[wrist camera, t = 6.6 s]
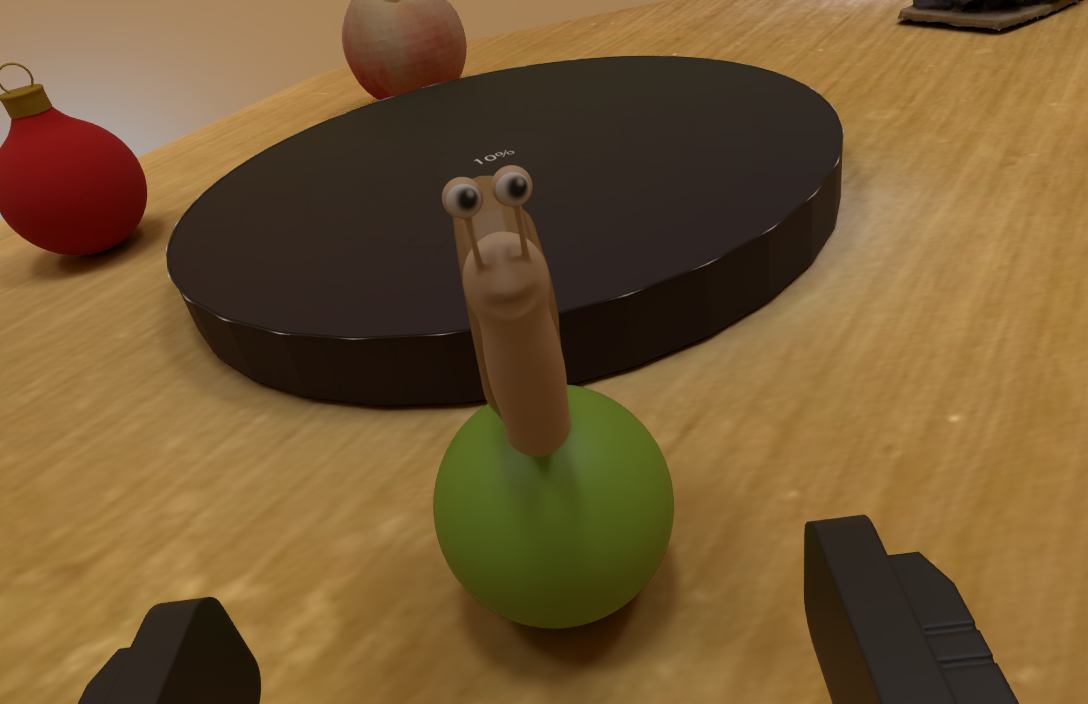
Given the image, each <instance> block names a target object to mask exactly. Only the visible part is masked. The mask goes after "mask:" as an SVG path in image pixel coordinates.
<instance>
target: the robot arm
mask: <svg viewBox="0 0 1088 704" xmlns="http://www.w3.org/2000/svg"><path fill="white" fill-rule="evenodd" d="M804 604H805V611H806V617H807V623H808V627H809V632H810V636H811V639H812V643H813V646H814V649H815V652H816V655H817V658H818V661H819V664H820V667H821V670H822V673H823V676H824V679H825V682H826V685H827V688H828V691H829V694H830V697H831V700H832V703H833V704H1019V703H1018V701H1017V699H1016V697H1015V695H1014V693H1013V692H1012V690H1011V688H1010V686H1009V684H1008V682H1007V680H1006V679H1005V677H1004V675H1003V673H1002V671H1001V669H1000V668H999V666H998V664H997V663H996V664H995V662H994V660H993V655H992V653H991V651H990V649H989V647H988V645H987V643H986V642H985V640H984V638H983V636H982V634H981V632H980V630H977V629H976V626H975V621H974V619H973V618H972V616H971V614H970V612H969V610H968V608H967V606H966V605H965V603H964V601H963V599H962V597H961V595H960V593H959V592H958V590H957V588H956V586H955V584H954V583H953V582H952V581H951V580H950V579H949V578H948V577H946V576H945V575H944V574H943V573H942V572H941V571H940V570H939V569H937V568H936V567H935V566H934V565H933V564H932V563H931V562H930V561H928V560H927V559H926V558H925V557H924V556H923V555H922V554H921V553H919V552H912V553H904V554H896V555H887V553H886V551H885V548H884V546H883V544H882V542H881V540H880V538H879V536H878V534H877V531H876V529H875V527H874V525H873V523H872V522H871V520H870V519H869V518H868V517H867V516H866V515H857V516H849V517H842V518H834V519H826V520H818V521H811V522H807V523H806V524H805V532H804ZM260 695H261V677H260V671H259V667H258V664H257V661H256V660H255V658H254V656H253V654H252V653H251V651H250V650H249V648H248V646H247V645H246V643H245V642H244V640H243V638H242V637H241V635H240V633H239V632H238V630H237V629H236V627H235V625H234V624H233V622H232V621H231V619H230V617H229V616H228V614H227V613H226V611H225V609H224V608H223V606H222V605H221V603H220V602H219V601H218V600H217V599H215V598H213V597H205V598H198V599H190V600H182V601H175V602H167V603H160V604H157V605H155V606H153V607H152V608H151V609H150V610H149V612H148V613H147V614H146V616H145V618H144V620H143V622H142V624H141V626H140V628H139V630H138V632H137V635H136V637H135V639H134V641H133V643H132V645H131V647H130V648H122V649H118V650H117V652H116V653H115V654H114V655H113V656H112V657H111V658H110V660H109V661H108V662H107V663H106V664H105V665H104V666H103V668H102V669H101V670H100V671H99V672H98V673H97V674H96V676H95V677H94V678H93V679H92V680H91V681H90V682H89V684H88V685H87V686H86V688H85V690H84V692H83V694H82V696H81V698H80V700H79V702H78V704H259V702H260Z"/></svg>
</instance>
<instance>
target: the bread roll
mask: <svg viewBox="0 0 1088 704" xmlns="http://www.w3.org/2000/svg"><path fill="white" fill-rule="evenodd" d="M1073 2H1076V3H1078V2H1079V0H913V5H911V6H909V7H907V8H904V9H902V10H901V11H900V14H899V16H898V21H899V19H900V20H902V17H903V19H904V20H908V19H909V18H910V19H911V20H914V21H923V20H925V21H927V22H931V21H932V22H937V21H940V22H941V23H942V22H944V23H948V24H950V25H956V26H963V25H964V26H975V27H983V28H989V29H991V28H993V29H997V30H998V31H999V30H1001V29H1002V28H1003V27H1004V28H1006V27H1007V26H1008V27H1010V26H1009V25H1013V24H1014V25H1017V24H1018V23H1023V22H1026V21H1028V19H1031V20H1032V18H1034V17H1037V20H1038V15H1039V16H1042V15H1043V16H1045V15H1046V14H1048V13H1050V12H1051V11H1052V12H1053V11H1057V10H1059V9H1060V8H1063V7H1066V6H1067V5H1068V4H1072V3H1073ZM904 20H903V21H904Z"/></svg>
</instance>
